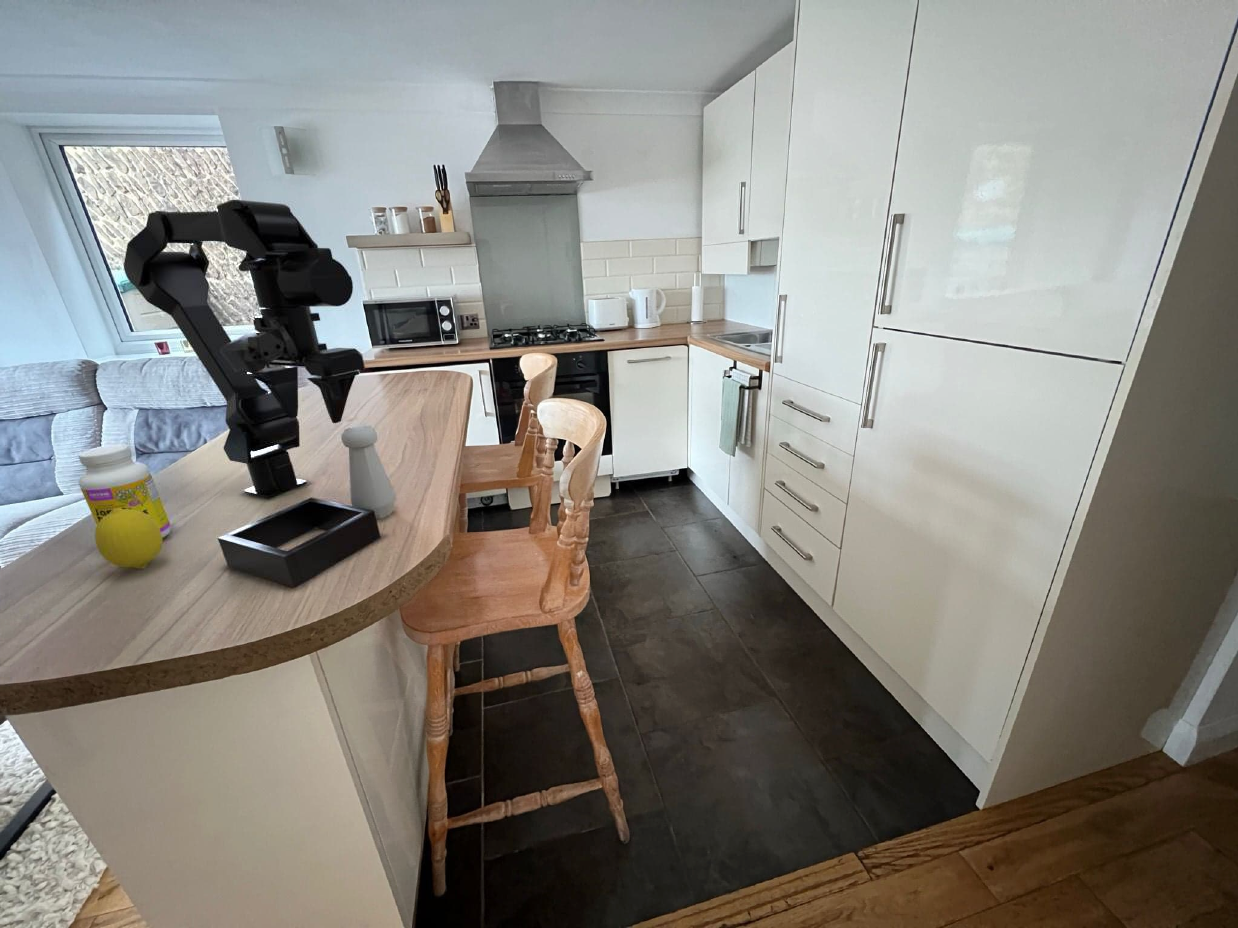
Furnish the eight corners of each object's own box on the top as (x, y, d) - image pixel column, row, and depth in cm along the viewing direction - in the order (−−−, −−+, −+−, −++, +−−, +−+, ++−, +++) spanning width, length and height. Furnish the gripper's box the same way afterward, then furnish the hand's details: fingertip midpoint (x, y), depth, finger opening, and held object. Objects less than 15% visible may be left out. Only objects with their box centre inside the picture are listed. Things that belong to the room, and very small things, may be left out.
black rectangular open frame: (227, 567, 61) (217, 537, 59) (318, 522, 71) (311, 497, 69) (294, 588, 56) (284, 557, 55) (380, 537, 66) (374, 510, 65)
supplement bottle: (99, 557, 64) (54, 463, 59) (118, 535, 70) (78, 447, 65) (165, 543, 67) (128, 452, 62) (179, 523, 72) (145, 438, 68)
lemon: (136, 557, 64) (111, 500, 61) (182, 554, 64) (159, 497, 61) (98, 582, 58) (68, 521, 56) (148, 579, 59) (121, 517, 56)
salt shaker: (393, 520, 71) (373, 432, 66) (349, 525, 70) (326, 436, 65) (402, 503, 76) (384, 420, 71) (362, 507, 75) (341, 423, 70)
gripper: (175, 312, 64) (215, 430, 70) (270, 312, 57) (306, 443, 62) (263, 305, 73) (292, 409, 79) (354, 304, 66) (379, 419, 72)
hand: (314, 419), depth 73 cm, fingers open, 9 cm apart
